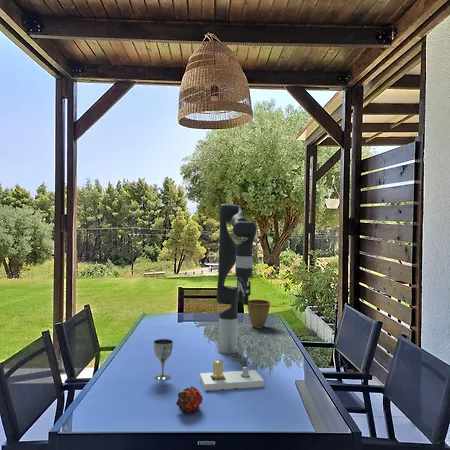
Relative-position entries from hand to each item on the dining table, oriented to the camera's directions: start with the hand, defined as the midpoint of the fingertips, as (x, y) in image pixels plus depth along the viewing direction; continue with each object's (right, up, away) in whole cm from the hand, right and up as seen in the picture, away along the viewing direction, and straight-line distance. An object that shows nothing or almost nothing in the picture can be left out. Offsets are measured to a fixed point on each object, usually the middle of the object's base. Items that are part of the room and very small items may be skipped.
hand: (243, 302), depth 182 cm
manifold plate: (-6, -30, -14) cm, 34 cm away
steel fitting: (0, -30, -13) cm, 33 cm away
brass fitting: (-11, -30, -16) cm, 35 cm away
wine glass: (-34, -30, -10) cm, 46 cm away
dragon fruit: (-20, -30, -39) cm, 54 cm away
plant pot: (+13, -31, +80) cm, 87 cm away
